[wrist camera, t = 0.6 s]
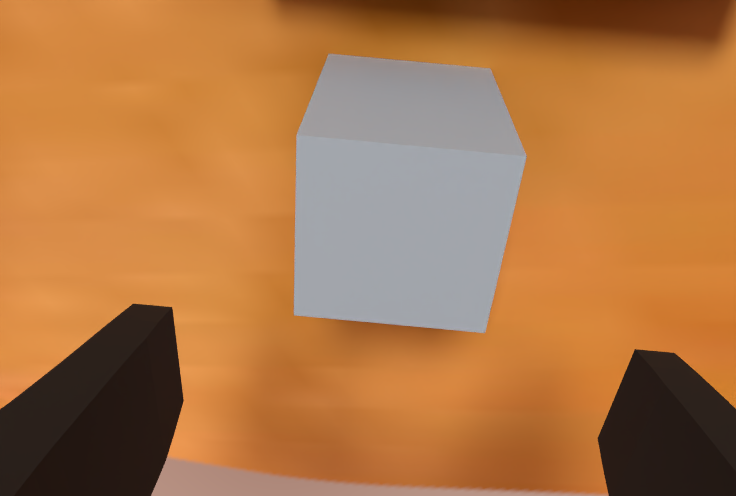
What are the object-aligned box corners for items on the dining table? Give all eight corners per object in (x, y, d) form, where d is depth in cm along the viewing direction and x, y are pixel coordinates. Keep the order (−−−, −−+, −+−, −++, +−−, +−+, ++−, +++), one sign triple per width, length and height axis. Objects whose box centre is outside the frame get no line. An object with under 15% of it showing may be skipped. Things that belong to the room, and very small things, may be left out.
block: (490, 68, 17) (526, 156, 12) (464, 209, 19) (484, 332, 14) (329, 53, 17) (296, 135, 12) (322, 196, 19) (294, 315, 14)
